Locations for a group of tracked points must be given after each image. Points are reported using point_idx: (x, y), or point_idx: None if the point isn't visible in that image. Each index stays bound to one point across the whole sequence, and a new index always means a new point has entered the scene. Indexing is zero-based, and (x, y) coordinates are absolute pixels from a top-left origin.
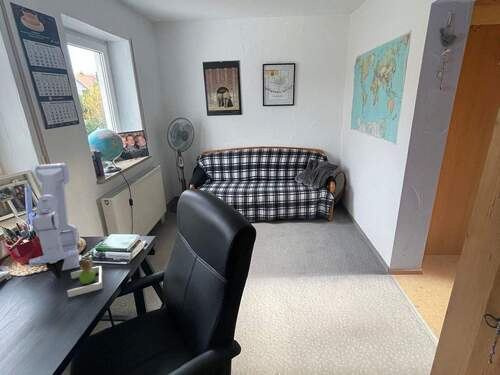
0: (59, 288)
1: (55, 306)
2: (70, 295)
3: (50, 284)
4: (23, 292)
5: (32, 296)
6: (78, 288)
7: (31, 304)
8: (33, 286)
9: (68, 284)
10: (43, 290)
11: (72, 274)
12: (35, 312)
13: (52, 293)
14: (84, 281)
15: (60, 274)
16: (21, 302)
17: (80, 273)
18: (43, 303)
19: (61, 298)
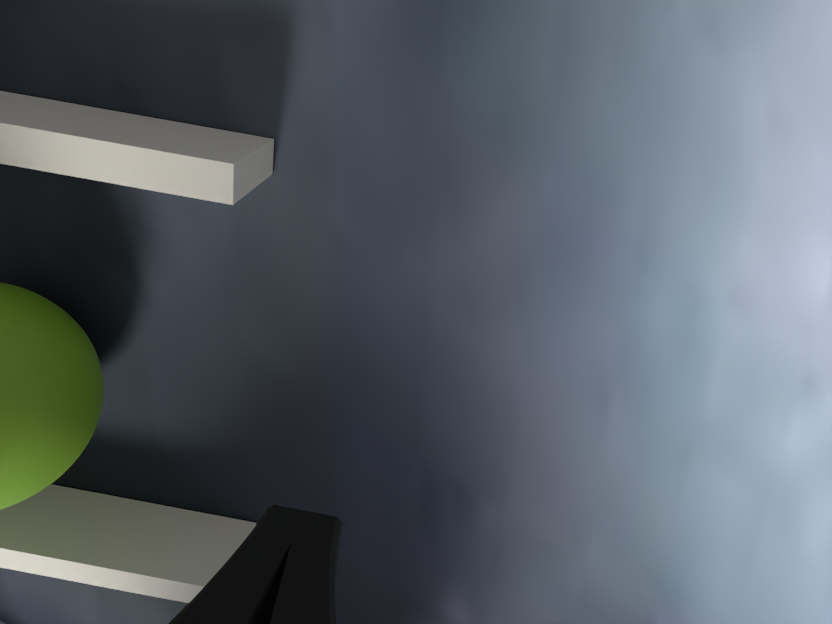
0: (389, 424)
1: (457, 10)
2: (235, 137)
3: (480, 555)
4: (756, 582)
5: (691, 455)
6: (54, 141)
7: (739, 293)
8: (644, 621)
9: (288, 440)
10: (562, 494)
11: (216, 568)
12: (739, 41)
13: (473, 373)
14: (4, 301)
15: (234, 568)
16: (828, 414)
17: (10, 476)
18: (601, 214)
19: (370, 179)
